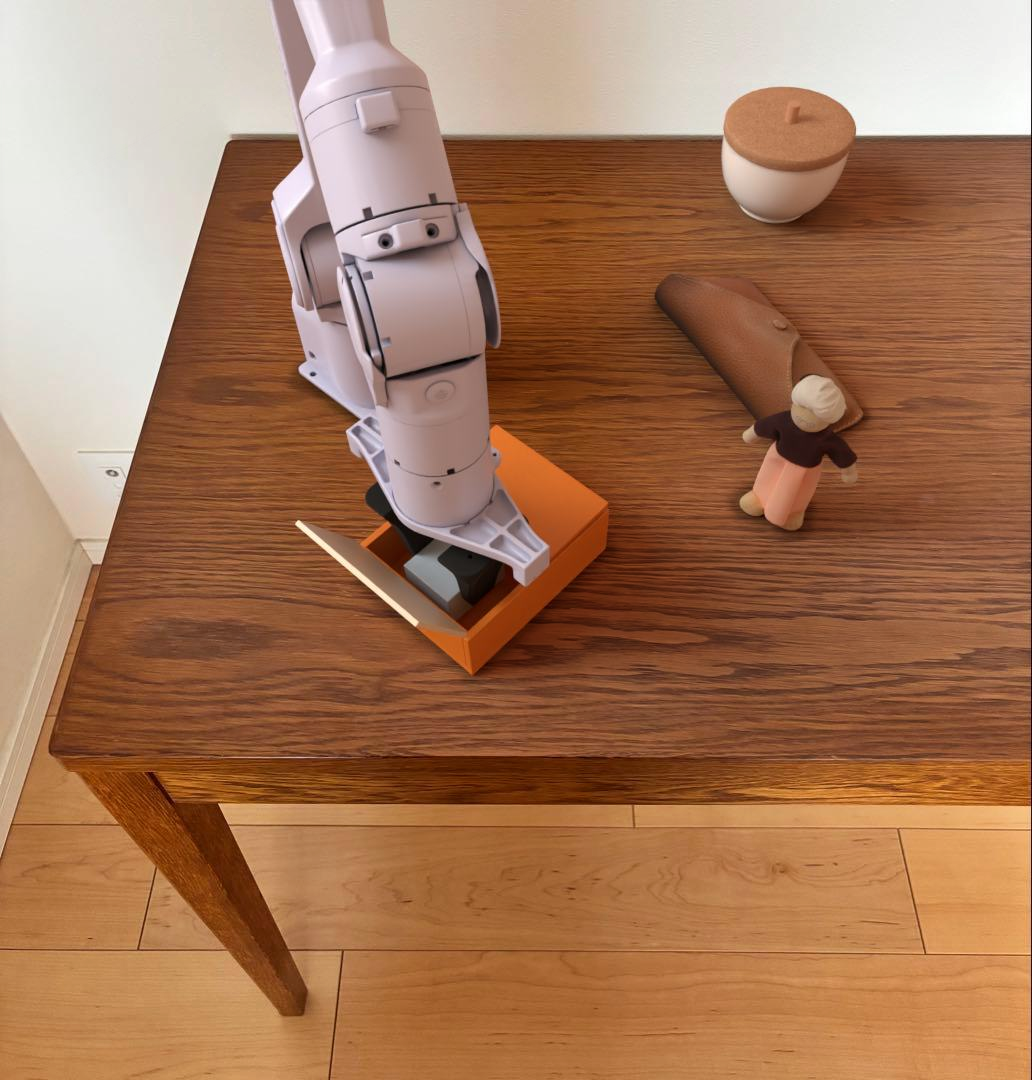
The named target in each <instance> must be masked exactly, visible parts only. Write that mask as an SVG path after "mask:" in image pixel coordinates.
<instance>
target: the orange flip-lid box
mask: <svg viewBox="0 0 1032 1080" xmlns="http://www.w3.org/2000/svg"><path fill="white" fill-rule="evenodd" d="M490 440H491V446H493V447H494V448H496V449H497V450H499V452H500V453H501V459H502V463H501V465H500V466H499V467H498V468H497V469H496V470H495V473H496V474H497V476H498V478H499V479H500V481H501V482H502V484H503V485H504V487H505V488H506V490H507V492H508V493H509V495H510V496H511V498H512V499H513V501H514V503H515V504H516V506H517V507H518V509H519V510H520V512H521V513H522V514H523V515H524V516H525V517H526V518H527V519H528V521H529V526H530V527H531V528H532V530H533V531H534V532H535V533H536V535H537V536H538V537H539V538H540V539H542V540H543V541H544V542H545V543H546V544H548V545H549V546H550V564H549V566H548V567H547V568H546V569H545V570H544V571H543V572H542V573H541V574H540V575H539V576H538V577H537V578H536V579H535V580H533V581H532V582H531V583H530V584H529V585H528V586H527V587H525V586H523V585H522V584H521V583H520V582H518V581H517V580H516V579H515V578H514V574H513V568H512V567H511V566H510V565H508V564H506V563H504V566H505V577H504V578H503V579H502V580H501V581H500V582H499V583H498V584H497V585H495V586H494V588H493V589H492V590H491V591H490V592H489V593H488V594H487V595H485V596H484V597H483V598H482V599H481V600H480V601H479V602H478V603H477V604H476V605H475V606H472V607H471V608H470V609H469V610H468V611H467V612H466V613H465V614H464V615H463V616H462V617H460V618H459V619H458V620H457V621H455V620H454V619H452V618H451V617H450V616H449V615H448V614H446V613H445V612H444V611H443V610H442V609H440V608H439V607H438V606H437V605H436V604H434V603H433V602H432V601H431V600H429V599H428V598H427V597H426V596H425V595H423V594H422V593H421V592H420V591H419V590H417V589H416V588H415V587H414V586H413V585H411V584H410V583H409V582H408V581H407V578H406V573H405V568H404V565H405V564H406V563H407V562H408V561H409V560H411V559H412V558H413V556H412V555H411V554H410V552H409V551H408V549H407V547H406V546H405V544H404V543H403V541H402V539H401V538H400V536H399V535H398V533H397V532H396V531H395V529H394V528H393V527H392V526H391V524H390V523H389V522H388V521H387V520H386V522H384V523H383V524H382V525H381V526H379V527H378V528H377V529H376V530H374V531H373V532H372V533H371V534H370V535H369V536H367V537H366V538H365V539H364V540H362V541H361V542H360V543H359V544H360V545H362V546H363V547H364V548H365V549H366V550H368V551H369V552H370V553H371V554H372V555H374V556H375V557H376V558H377V559H378V560H380V561H381V562H382V563H383V564H384V565H386V566H387V567H388V568H389V569H390V570H392V571H393V572H394V573H395V574H397V575H398V576H399V577H400V578H401V579H403V580H404V581H405V582H406V583H407V584H409V585H410V586H411V587H412V588H413V589H415V590H416V591H417V592H418V593H419V594H421V595H422V596H423V597H424V598H425V599H427V600H428V601H429V602H430V603H432V604H433V605H434V606H435V607H436V608H438V609H439V610H440V611H441V612H442V613H444V614H445V615H446V616H447V617H448V618H450V619H451V620H452V621H453V622H454V623H456V624H457V625H458V626H459V627H460V628H462V629H463V630H464V631H465V632H466V633H467V635H466V637H465V638H462V637H457V636H453V635H449V634H444V633H440V632H436V631H431V630H427V629H422V628H418V627H415V628H416V629H417V630H418V631H420V632H421V633H422V634H423V635H424V636H425V637H426V638H428V639H429V640H430V641H431V642H432V643H434V644H435V645H436V646H437V647H438V648H440V649H441V650H442V651H443V652H444V653H445V654H446V655H447V656H449V657H450V658H451V659H452V660H454V661H455V662H456V663H457V664H458V665H460V667H462V668H463V669H464V670H465V671H466V672H468V673H469V674H470V675H471V676H474V675H475V674H476V673H477V672H478V671H479V670H480V669H481V668H482V667H484V665H485V664H486V663H487V662H488V661H490V659H492V658H493V657H494V656H495V655H496V654H497V653H498V652H499V651H500V650H501V649H502V648H503V647H505V645H506V644H507V643H508V642H510V640H512V638H514V637H515V636H516V635H517V634H518V633H519V632H520V631H521V630H522V629H524V627H525V626H527V625H528V624H529V622H530V621H531V620H533V619H534V618H535V617H536V616H537V615H538V614H539V613H540V612H541V611H542V610H543V609H544V608H545V607H546V606H547V605H548V604H549V603H550V602H551V601H552V600H554V599H555V597H557V595H559V594H560V593H561V592H562V591H563V590H564V589H565V588H567V586H568V585H569V584H570V583H571V582H572V581H573V580H575V579H576V577H578V575H580V574H581V573H582V572H583V571H584V570H585V569H586V568H587V567H588V566H589V565H590V564H591V563H592V562H594V561H595V559H596V558H597V557H598V556H599V555H601V553H603V552H604V551H605V550H606V549H607V539H608V529H609V528H608V527H609V517H610V509H609V508H608V507H609V505H610V502H608V501H607V500H606V499H605V498H603V497H601V496H600V495H599V494H597V493H595V492H594V491H593V490H591V489H590V488H588V487H586V486H585V484H583V483H581V482H580V481H578V480H577V479H575V478H574V477H572V476H571V475H570V474H568V473H567V472H565V471H564V470H562V469H561V468H560V467H558V466H557V465H556V464H554V463H553V462H551V461H550V460H549V459H547V458H545V457H544V456H542V455H541V454H540V453H538V452H537V451H535V450H534V449H532V448H531V447H529V446H528V445H527V444H525V443H524V442H522V441H521V440H520V439H518V438H517V437H515V436H514V435H512V434H511V433H510V432H508V431H507V430H505V429H504V428H502V427H501V426H500V425H498V424H494V426H493V427H491V428H490Z"/></svg>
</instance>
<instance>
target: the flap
mask: <svg viewBox="0 0 1032 1080" xmlns="http://www.w3.org/2000/svg"><path fill="white" fill-rule="evenodd" d="M294 525H295V526H296V527H297V528H298V529H299V530H300V531H302V532H303V533H304V534H305V535H306V536H308V537H309V538H310V539H311V540H312V541H314V542H315V543H316V544H317V545H318V546H320V547H321V548H322V549H323V551H325V552H326V553H328V554H329V555H330V557H332V558H333V559H335V561H337V562H338V563H339V564H341V566H343V567H344V568H345V569H346V570H348V571H349V572H350V573H351V574H352V575H354V576H355V577H356V578H357V579H358V580H360V582H362V583H363V584H364V585H365V586H366V587H368V589H370V590H371V591H372V592H373V593H375V594H376V595H377V596H378V597H379V598H381V600H383V601H384V602H385V603H386V604H388V606H390V607H391V608H392V609H394V610H395V611H396V612H397V613H398V614H399V615H400V616H402V618H404V619H405V620H406V621H408V622H409V623H410V624H411V625H412V626H413V627H415V628H416V627H418V628H422V629H427V630H431V631H436V632H440V633H444V634H449V635H453V636H457V637H462V638H465V637H466V635H467V633H466V632H465V631H464V630H463V629H462V628H460V627H459V626H458V625H457V624H456V623H454V622H453V621H452V620H451V619H450V618H448V617H447V616H446V615H445V614H444V613H442V612H441V611H440V610H439V609H438V608H436V607H435V606H434V605H433V604H432V603H430V602H429V601H428V600H427V599H425V598H424V597H423V596H422V595H421V594H419V593H418V592H417V591H416V590H415V589H413V588H412V587H411V586H410V585H409V584H407V583H406V582H405V581H404V580H403V579H401V578H400V577H399V576H398V575H397V574H395V573H394V572H393V571H392V570H390V569H389V568H388V567H387V566H386V565H384V564H383V563H382V562H381V561H380V560H378V559H377V558H376V557H375V556H374V555H372V554H371V553H370V552H369V551H368V550H366V549H365V548H364V547H363V546H362V545H360V543H359V542H358V541H357V540H356V539H353V538H350V537H347V536H345V535H341V534H339V533H336V532H333V531H331V530H328V529H325V528H322V527H320V526H317V525H314V524H311V523H309V522H306V521H304V520H300V519H298V520H297V521H296V522H295V524H294Z"/></svg>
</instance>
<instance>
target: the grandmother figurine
mask: <svg viewBox="0 0 1032 1080" xmlns="http://www.w3.org/2000/svg"><path fill="white" fill-rule="evenodd" d="M791 396H792V401H793V404H792V408H791V410H788V411H782V412H779V413H776V414H773V415H770V416H767V417H765V418H762V419H759V420H757V421H756V420H755V422H754V424H752V425H751V426H750V427H749V428H747V429H746V430H745V431H744V432H743V434H742V440H743V442H744V443H745V444H748V445H753V444H755V443H757V442H758V440H761V439H762V438H765V439H768V440H771V439H772V440H775V442H772V444H771V445H770V447H769V448H768V450H767V452H766V454H765V457H764V458H763V461H762V464H761V466H760V469H759V471H758V472H757V475H756V479H755V481H754V484H753V487H752V490H750V491H747V493H744V495H743V496H741V498H740V499H739V507H740V508H741V510H742V511H743V512H744V513H746V514H747V515H749V516H752V517H760V516H762V515H764V516H765V519H766V520H767V521H769V522H770V524H772V525H775V526H778V527H780V528H781V529H784V530H786V531H796V530H798V529H800V528H801V527H802V526H803V523H804V518H805V513H806V510H807V508H808V506H809V504H810V502H811V500H812V498H813V496H814V494H815V492H816V489H817V487H818V484H819V481H820V478H821V475H822V471H823V466H824V456H825V455H826V456H827V457H828V458H829V460H830V462H832V463H833V464H834V465H835V466H836V467H837V468H838V469H839V472H840V475H841V477H840V478H841V480H842V482H843V483H845V484H846V485H852V484H855V483H856V482H857V481H858V480H859V473H858V471H857V464H856V463H857V461H858V455H857V453H856V452H854V450H853V449H852V448H851V446H850V445H849V444H848V443H847V441H846V440H845V439H844V438H843V437H842V436H841V435H839V434H838V433H837V434H836V433H834V432H833V431H832V430H831V428H830V427H829V426H828V425H829V424H830V423H835V422H837V421H838V420H839V419H840V418H841V417H842V416H843V414H844V411H845V409H847V407H846V404H845V399H844V396H843V394H842V392H841V390H840V389H839V388H838V387H837V386H836V385H835V384H834V382H833V381H832V380H831V379H829V378H824V377H820V376H817V375H811V376H808V377H806V378H804V379H803V380H801V381H800V382H799V383H798V384H797V385H796V386H795V387H794V389H793V391H792V395H791ZM772 440H771V441H772Z"/></svg>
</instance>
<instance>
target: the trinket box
mask: <svg viewBox="0 0 1032 1080" xmlns="http://www.w3.org/2000/svg"><path fill="white" fill-rule="evenodd" d="M722 131H723V134H722V135H723V136H722V141H721V142H722V143H721V152H720V155H721V156H720V157H721V158H720V160H721V171H722V178H723V180H724V184H725V186H726V189H727V190H728V192H729V194H730V196H731V197H732V198H733V200H734V201H735V202H736V203H737V205H738V206H739V207H740V209H741V211H743V212H744V214H746V215H747V216H749V217H750V218H752V219H754V220H757V221H759V222H762V223H769V224H784V223H785V224H786V223H791V222H792V221H796V220H797V219H799V218H800V217H801V216H803V215H805V214H807V213H808V212H810V211H812V210H814V209H815V208H817V207H818V206H819V205H821V204H822V203H823V202H824V201H825V200H826V199H827V198H828V197H829V195H830V194H831V193H832V191H833V190H834V188H835V187H836V185H837V183H838V181H840V178H841V176H842V174H843V172H844V169H845V166H846V164H847V160H848V157H849V155H850V151H851V150H852V148H853V146H854V145H853V144H854V142H855V138H856V135H857V125H856V121H855V120H854V117H853V115H852V114H851V112H850V111H849V110H848V109H847V108H846V107H845V106H844V105H843V104H842V103H841V102H839V101H837V100H836V99H834V98H833V97H830V96H828V95H827V94H824V93H821V92H818V91H816V90H811V89H808V88H803V87H795V86H770V87H769V86H768V87H764V88H759V89H756V90H752V91H750V92H748V93H745V94H743V95H741V96H740V97H738V98H737V99H735V101H734V102H733V103H732V104H730V106H728V108H727V110H726V112H725V115H724V120H723V130H722Z"/></svg>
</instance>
